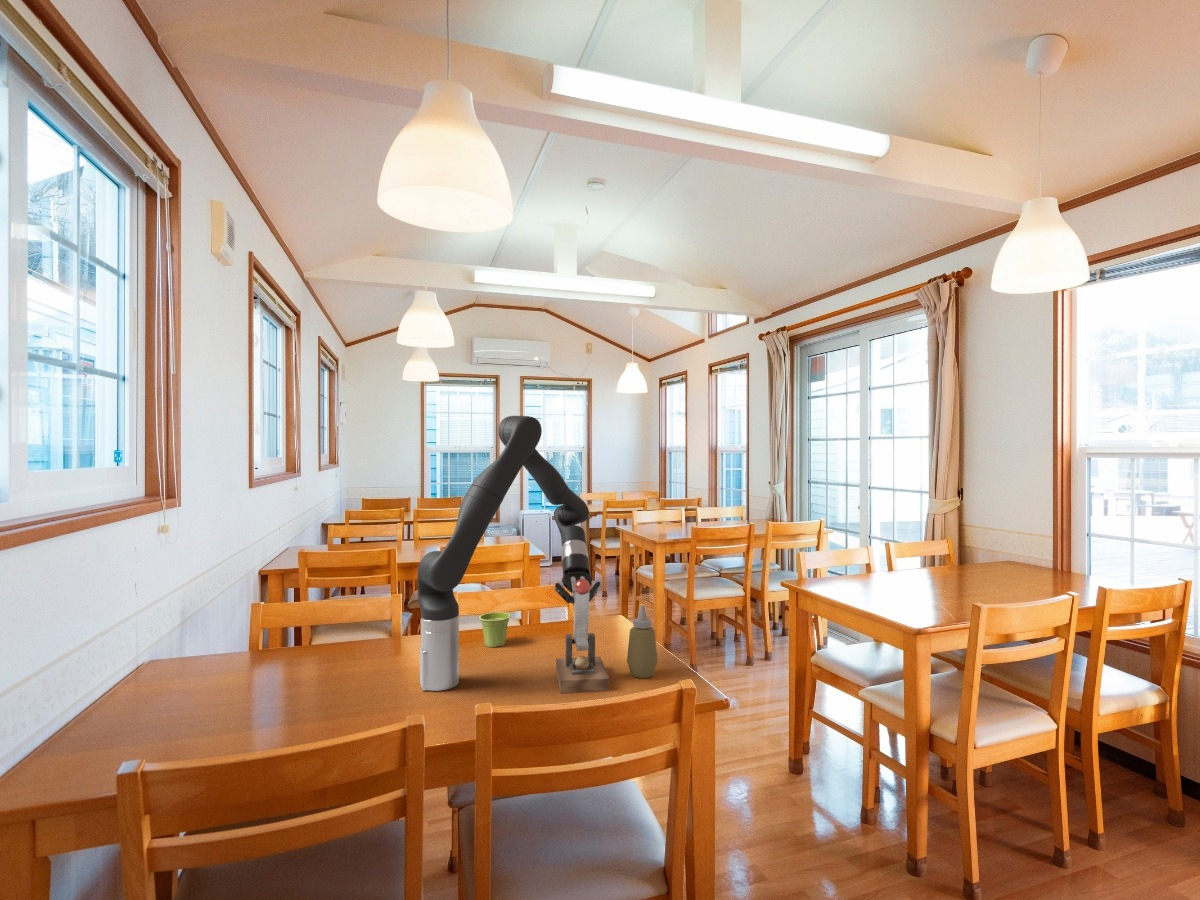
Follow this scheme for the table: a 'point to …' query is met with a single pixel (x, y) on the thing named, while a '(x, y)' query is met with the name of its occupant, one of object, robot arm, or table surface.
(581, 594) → the lever
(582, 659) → the walnut
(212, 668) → the table surface
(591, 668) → the nutcracker base
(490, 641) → the plant pot
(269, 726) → the table surface
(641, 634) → the squeeze bottle
